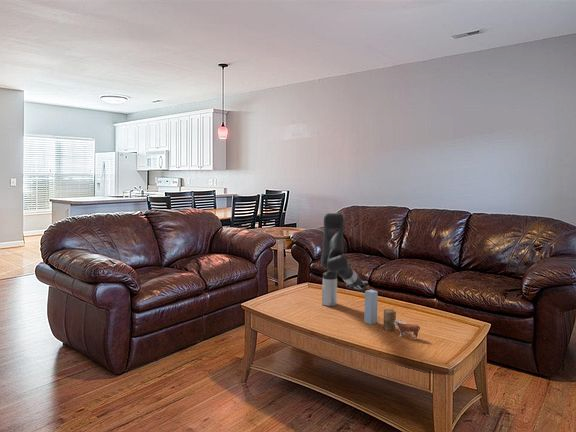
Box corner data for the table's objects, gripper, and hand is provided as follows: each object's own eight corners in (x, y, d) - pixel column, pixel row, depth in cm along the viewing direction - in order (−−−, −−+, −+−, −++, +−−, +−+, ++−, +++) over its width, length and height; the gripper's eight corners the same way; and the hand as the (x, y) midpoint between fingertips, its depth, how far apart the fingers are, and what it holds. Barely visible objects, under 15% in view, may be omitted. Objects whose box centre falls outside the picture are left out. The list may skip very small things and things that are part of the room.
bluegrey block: (370, 324, 233) (371, 292, 231) (364, 321, 237) (365, 290, 235) (376, 322, 236) (377, 291, 234) (370, 319, 240) (371, 289, 238)
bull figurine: (394, 332, 221) (394, 317, 220) (420, 338, 214) (420, 322, 213) (391, 335, 217) (392, 320, 216) (418, 340, 210) (418, 325, 209)
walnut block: (386, 330, 224) (386, 312, 223) (383, 326, 229) (383, 309, 228) (395, 330, 225) (395, 312, 224) (392, 326, 230) (392, 309, 229)
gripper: (362, 269, 219) (374, 282, 231) (339, 272, 225) (351, 285, 237) (362, 282, 215) (374, 295, 227) (338, 285, 221) (351, 298, 233)
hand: (362, 290), depth 232 cm, fingers closed
